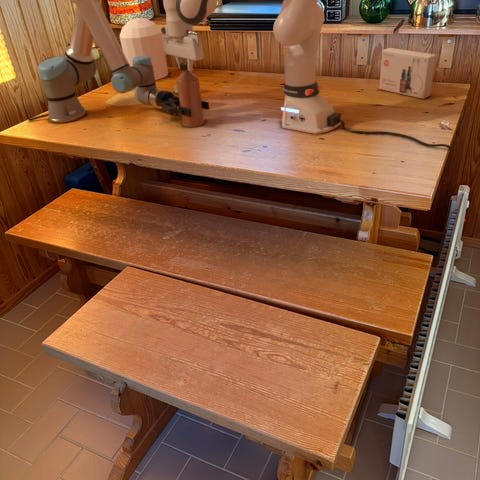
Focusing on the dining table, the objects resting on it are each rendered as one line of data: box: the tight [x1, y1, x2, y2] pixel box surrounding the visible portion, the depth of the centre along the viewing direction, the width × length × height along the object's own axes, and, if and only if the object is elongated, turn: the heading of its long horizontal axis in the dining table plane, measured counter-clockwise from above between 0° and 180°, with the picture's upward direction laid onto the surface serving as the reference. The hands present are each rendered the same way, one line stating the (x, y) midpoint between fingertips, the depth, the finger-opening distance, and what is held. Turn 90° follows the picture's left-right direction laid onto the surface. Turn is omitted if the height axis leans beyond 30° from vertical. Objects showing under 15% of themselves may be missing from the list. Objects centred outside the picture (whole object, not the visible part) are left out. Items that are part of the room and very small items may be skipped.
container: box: [119, 17, 169, 81], centre depth 235 cm, size 21×21×28 cm
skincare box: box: [378, 47, 437, 100], centre depth 184 cm, size 21×6×16 cm, turn 40°
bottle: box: [175, 71, 205, 128], centre depth 174 cm, size 8×8×22 cm
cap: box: [179, 61, 188, 72], centre depth 168 cm, size 4×4×2 cm
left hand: (199, 109), depth 174 cm, fingers closed on bottle, 8 cm apart
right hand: (186, 69), depth 169 cm, fingers closed on cap, 4 cm apart
